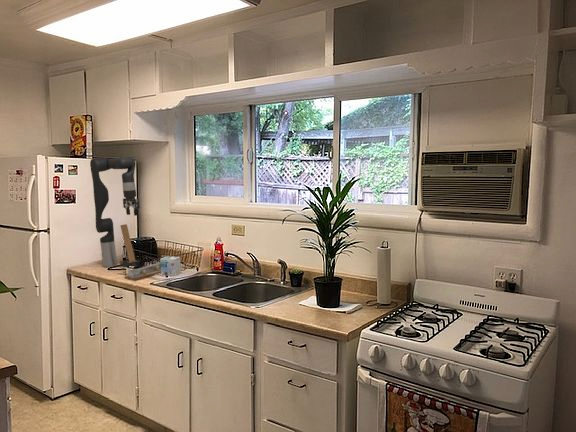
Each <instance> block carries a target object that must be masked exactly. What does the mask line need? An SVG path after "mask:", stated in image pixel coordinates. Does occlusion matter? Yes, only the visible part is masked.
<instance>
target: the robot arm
mask: <svg viewBox="0 0 576 432" xmlns="http://www.w3.org/2000/svg"><path fill="white" fill-rule="evenodd" d="M89 165H90V172H91V177H92V187H93V200H94V201H93V202H94V207H95V208H94V209H95V230H96V232H97V233H99V234H100V233H106V234H105V235H103V236H102V237H100V238H99V242H100V251H101V253H100V254H101V260H102V266H103V267H104V268H111V267H116V266H118V259H117V258H118V256H117V251H116V243H115V242H116V241H115V232H114V222H113V219H112V218H111V217H106V218H102V217H103V212H104V210H105V208H106V207H107V205H108V203H109V201H110V198H109V190H108V189H109V188H107V186H106V185H105V184H104V183H103V181H102V180H101V177H100V173H101V172H106V171H109V170H111V169H113V170H126V172H124V173H122V175H121V181H122V193H123V198H122V205H123V206H122V207H123V208H124V209H125V212H126V215H127V216H130V215H131V210H130V208H132V209H133V216H136V217H137V216H139V214H138V213H139V211H138V210H139V209H140V201H139V198H136V197H137V191H136V189H137V188H136V183H135V177H134V176H135V169H136V160H135V159H134V157H132V156H128V157H127V156H126V157H114V158H108V157H94V158H91V159H90V164H89Z"/></svg>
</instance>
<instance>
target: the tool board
mask: <svg viewBox="0 0 576 432" xmlns="http://www.w3.org/2000/svg"><path fill="white" fill-rule="evenodd" d="M139 268H140V267H139ZM139 268H136V269H139ZM158 273H161V269H159V266H157V270H156V271H152V272H149V273H146V270H143V274H142V275H140V276H137V277H129V274H127V275H124V279H125V280H129V281H134V282H137V281H138V282H139V281H141V280H144V279H147V278H150V277H154V276H156V275H155V274H158ZM158 275H159V274H158Z"/></svg>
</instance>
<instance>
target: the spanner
mask: <svg viewBox="0 0 576 432" xmlns="http://www.w3.org/2000/svg"><path fill="white" fill-rule="evenodd" d="M157 266H159V269H161V265H160V261H159V262H156V263H153V264H150V265H145V266H143V267H139V269H137V268H133V269H130V270H127V273H128V274H127V275H129V277H137V276H140V275H142V274H143V270H146V273H149V272H152V271H156V270H157Z"/></svg>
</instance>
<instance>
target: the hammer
mask: <svg viewBox="0 0 576 432" xmlns="http://www.w3.org/2000/svg"><path fill="white" fill-rule="evenodd" d="M120 229H121V234H122V238H123V242H124V246H125V251H126V255H127V258H128V261H127V259H124V260H121V261H119V264H120V265H121V267H122V268H124V267H127V266H135V267H139V268H142V267H145V266H146V262H145V261H144V260H137V259H136V258H135V253H134V248H133V245H132V241H131V236H130V233H129V229H128V224H125V223H124V224H121V225H120Z"/></svg>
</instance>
